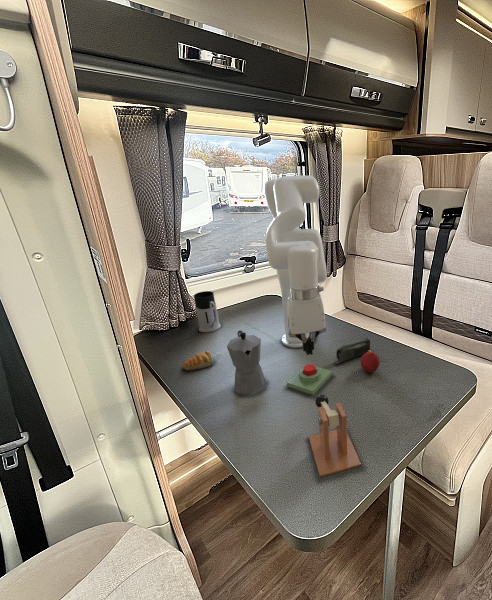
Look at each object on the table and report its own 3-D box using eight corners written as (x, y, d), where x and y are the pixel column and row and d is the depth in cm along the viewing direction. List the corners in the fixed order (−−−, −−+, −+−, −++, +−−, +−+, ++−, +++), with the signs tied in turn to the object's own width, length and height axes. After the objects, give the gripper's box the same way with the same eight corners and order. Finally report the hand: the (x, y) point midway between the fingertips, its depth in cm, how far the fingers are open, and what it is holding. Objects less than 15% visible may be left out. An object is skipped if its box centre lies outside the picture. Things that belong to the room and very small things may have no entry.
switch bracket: (308, 440, 75) (305, 399, 70) (345, 431, 77) (344, 391, 73) (320, 480, 65) (317, 435, 60) (361, 468, 67) (361, 424, 63)
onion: (368, 365, 104) (369, 343, 101) (382, 372, 100) (383, 349, 97) (357, 372, 100) (356, 350, 97) (371, 380, 96) (371, 357, 93)
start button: (308, 368, 97) (307, 363, 96) (318, 371, 95) (317, 366, 94) (301, 374, 94) (301, 369, 93) (311, 377, 92) (311, 372, 92)
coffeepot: (271, 394, 91) (264, 339, 84) (237, 404, 87) (228, 347, 81) (260, 367, 104) (253, 318, 98) (230, 375, 100) (221, 324, 94)
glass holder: (215, 321, 140) (209, 289, 134) (230, 331, 130) (224, 297, 125) (195, 327, 134) (188, 294, 129) (209, 338, 124) (202, 303, 119)
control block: (308, 369, 102) (307, 359, 101) (332, 377, 98) (331, 366, 97) (287, 388, 93) (286, 377, 92) (313, 397, 89) (312, 385, 88)
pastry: (186, 374, 101) (184, 364, 100) (180, 366, 106) (178, 356, 105) (215, 364, 107) (213, 354, 105) (209, 356, 112) (207, 346, 110)
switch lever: (314, 406, 78) (313, 394, 78) (327, 404, 79) (325, 391, 79) (327, 430, 66) (325, 415, 65) (342, 426, 66) (340, 412, 66)
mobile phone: (366, 336, 112) (331, 348, 104) (372, 339, 110) (337, 352, 102) (366, 348, 114) (332, 361, 106) (371, 352, 112) (337, 365, 104)
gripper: (327, 285, 90) (330, 342, 97) (275, 291, 87) (281, 350, 93) (335, 293, 84) (337, 354, 90) (278, 300, 80) (284, 363, 86)
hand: (308, 352), depth 91 cm, fingers closed
